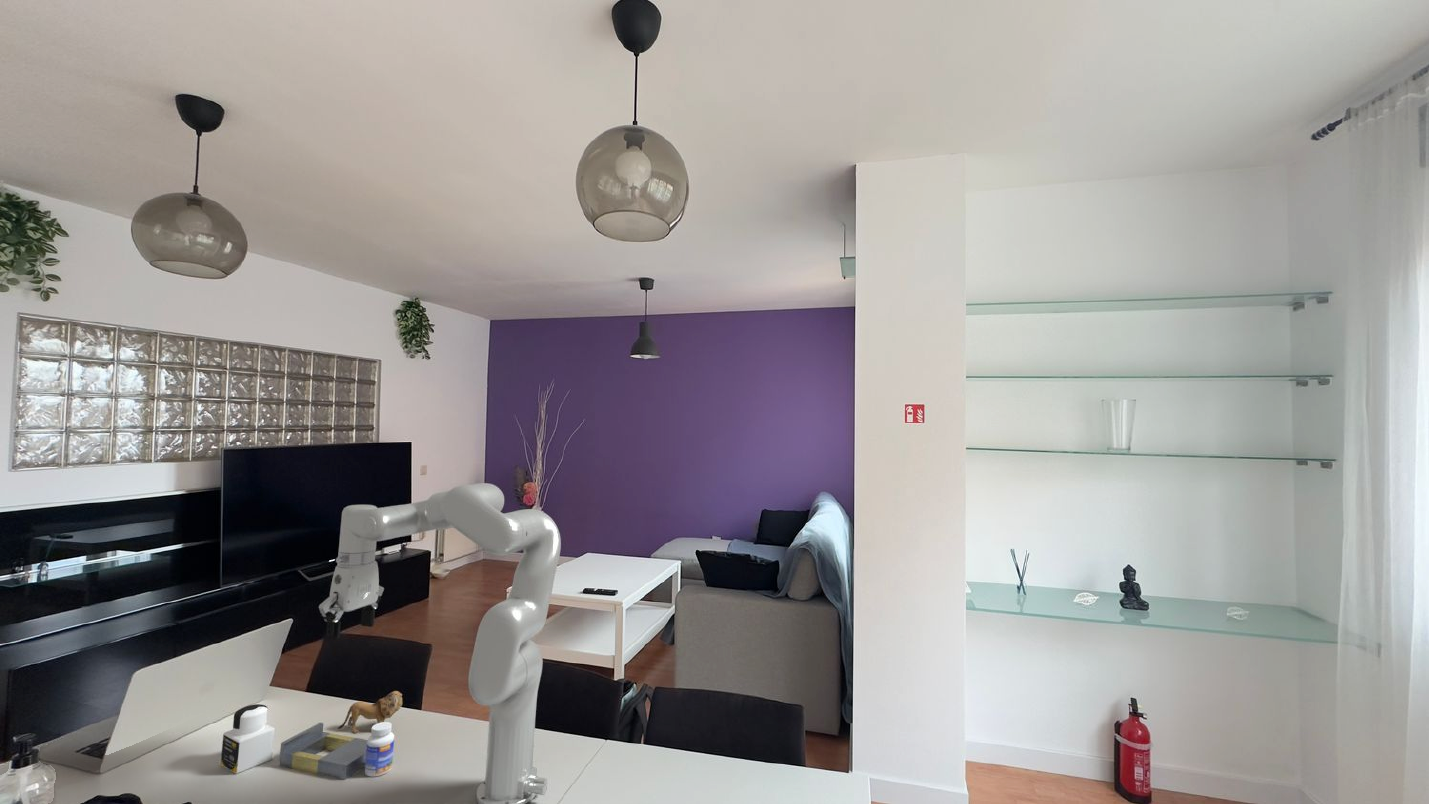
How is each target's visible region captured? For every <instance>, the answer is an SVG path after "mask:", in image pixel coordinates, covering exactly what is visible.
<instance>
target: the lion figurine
mask: <svg viewBox="0 0 1429 804" xmlns="http://www.w3.org/2000/svg"><path fill="white" fill-rule="evenodd" d="M402 696H403V694H402V693H401V692H400V691H398V690H394V691H392V692H390V693H388V694H387V695H386V696H384V697H383V698H380V699H378V701H376V702H374V703H368V702H365V701H357V702H354V703H352V705H351V706H350V707H349V709H348V711H347V715H346V717H345V720H344V721H343V723H342V724H341V725H339V726H338V727H337V730H341V729H342V728H344V726H345V725H346V724H347V727H348V728H351V730H352V731H351V732H352V733H353V734H358V732H359V729H357V728H356V723H357V721H358V719H359V717H360V716H361V717H363V718H364V719H367V720H376V722H377V723H376V724H378V723H381V722H385V720H386V719H390V718H391V717H392V716H393V715H394V714H395V713H397V711H399V710H400V709H401V707H402V706H403V697H402ZM350 715H351V716H350Z"/></svg>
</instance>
